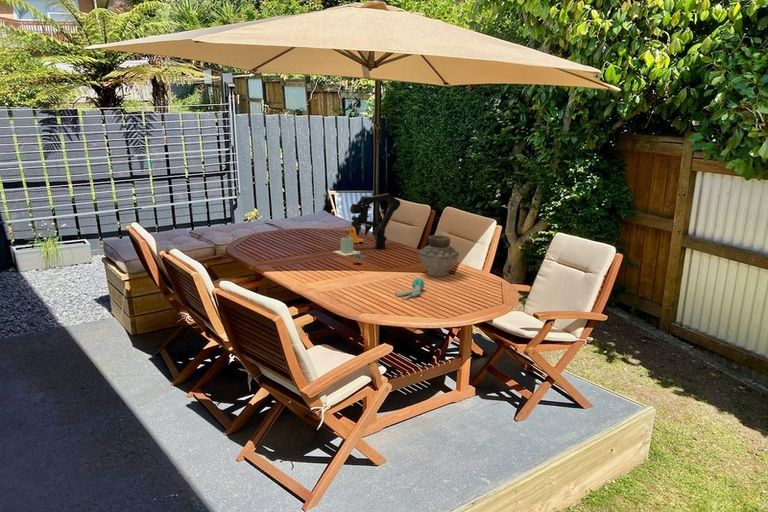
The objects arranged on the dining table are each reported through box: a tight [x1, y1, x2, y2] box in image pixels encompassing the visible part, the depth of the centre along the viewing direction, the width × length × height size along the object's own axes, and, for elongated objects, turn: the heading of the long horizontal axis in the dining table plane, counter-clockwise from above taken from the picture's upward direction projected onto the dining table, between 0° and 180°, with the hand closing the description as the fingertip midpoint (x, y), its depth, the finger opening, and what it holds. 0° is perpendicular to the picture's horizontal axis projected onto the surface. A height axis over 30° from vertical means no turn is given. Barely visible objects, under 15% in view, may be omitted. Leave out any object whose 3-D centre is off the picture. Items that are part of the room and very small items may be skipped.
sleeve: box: [340, 236, 354, 254], centre depth 417 cm, size 6×6×10 cm
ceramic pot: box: [418, 234, 460, 278], centre depth 370 cm, size 25×25×24 cm
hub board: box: [332, 249, 358, 256], centre depth 418 cm, size 14×14×5 cm
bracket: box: [348, 227, 364, 244], centre depth 452 cm, size 11×7×12 cm, turn 38°
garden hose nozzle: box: [394, 277, 426, 301], centre depth 333 cm, size 7×18×20 cm
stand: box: [349, 250, 369, 260], centre depth 407 cm, size 10×10×5 cm
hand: (361, 235), depth 426 cm, fingers open, 9 cm apart
